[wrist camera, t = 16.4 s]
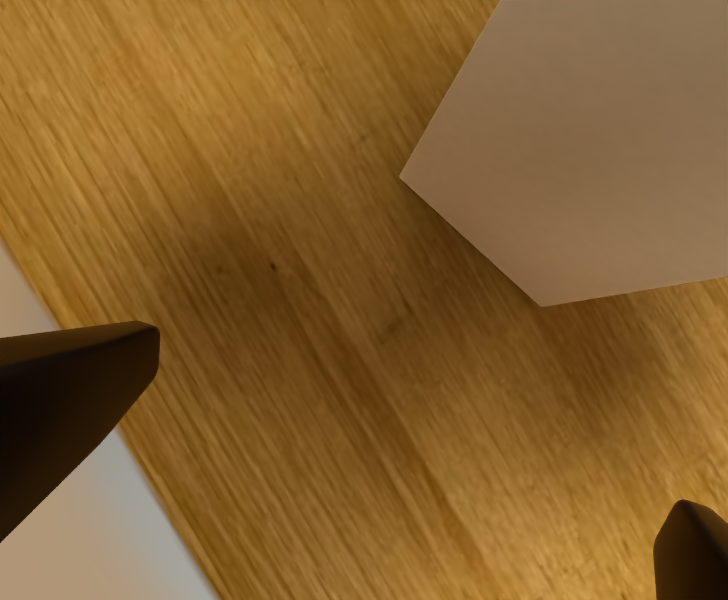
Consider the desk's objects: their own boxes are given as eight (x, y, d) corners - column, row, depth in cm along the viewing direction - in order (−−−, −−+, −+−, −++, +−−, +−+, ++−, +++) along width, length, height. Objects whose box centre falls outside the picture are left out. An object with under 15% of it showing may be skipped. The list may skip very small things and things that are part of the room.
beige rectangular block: (540, 308, 20) (989, 234, 7) (398, 177, 20) (583, -149, 7) (590, 248, 20) (1101, 73, 7) (451, 119, 20) (722, -294, 7)
